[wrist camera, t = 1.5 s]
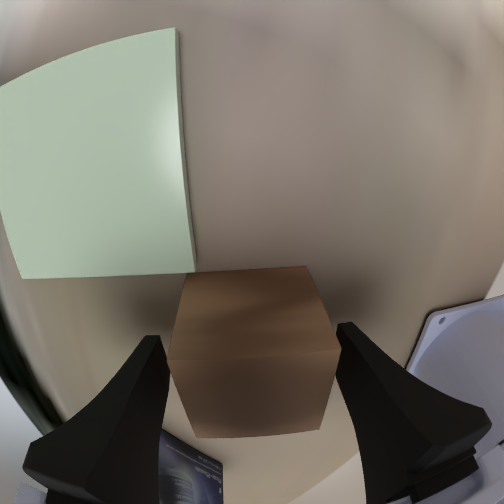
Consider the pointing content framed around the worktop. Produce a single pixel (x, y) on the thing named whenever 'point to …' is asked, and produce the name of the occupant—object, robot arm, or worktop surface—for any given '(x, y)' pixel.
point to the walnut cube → (253, 352)
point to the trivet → (98, 163)
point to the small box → (187, 474)
